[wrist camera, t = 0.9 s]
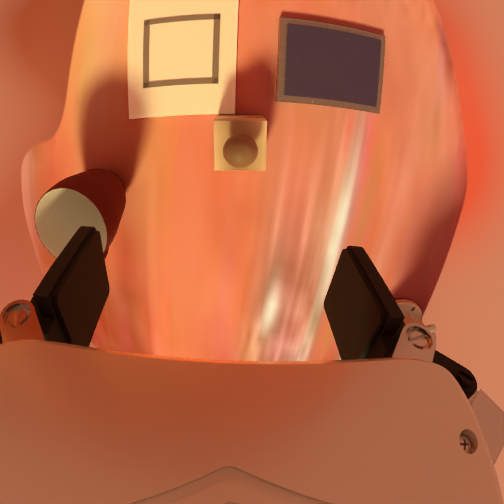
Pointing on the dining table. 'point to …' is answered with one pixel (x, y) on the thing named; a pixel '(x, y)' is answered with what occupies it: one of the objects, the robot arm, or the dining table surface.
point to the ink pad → (329, 65)
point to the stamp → (240, 142)
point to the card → (182, 57)
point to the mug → (80, 209)
